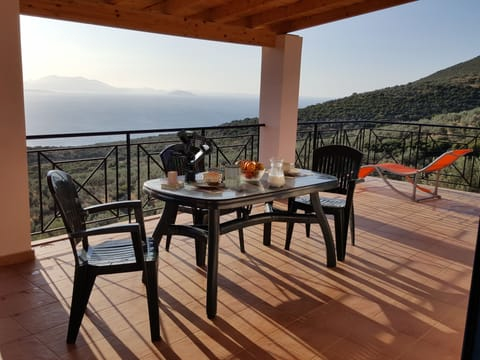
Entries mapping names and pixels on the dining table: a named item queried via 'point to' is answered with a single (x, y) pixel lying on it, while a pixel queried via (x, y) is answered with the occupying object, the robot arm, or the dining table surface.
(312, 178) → the dining table surface
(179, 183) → the rack
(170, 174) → the pink tall block
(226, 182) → the coffee can
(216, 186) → the dining table surface
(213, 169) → the food container
